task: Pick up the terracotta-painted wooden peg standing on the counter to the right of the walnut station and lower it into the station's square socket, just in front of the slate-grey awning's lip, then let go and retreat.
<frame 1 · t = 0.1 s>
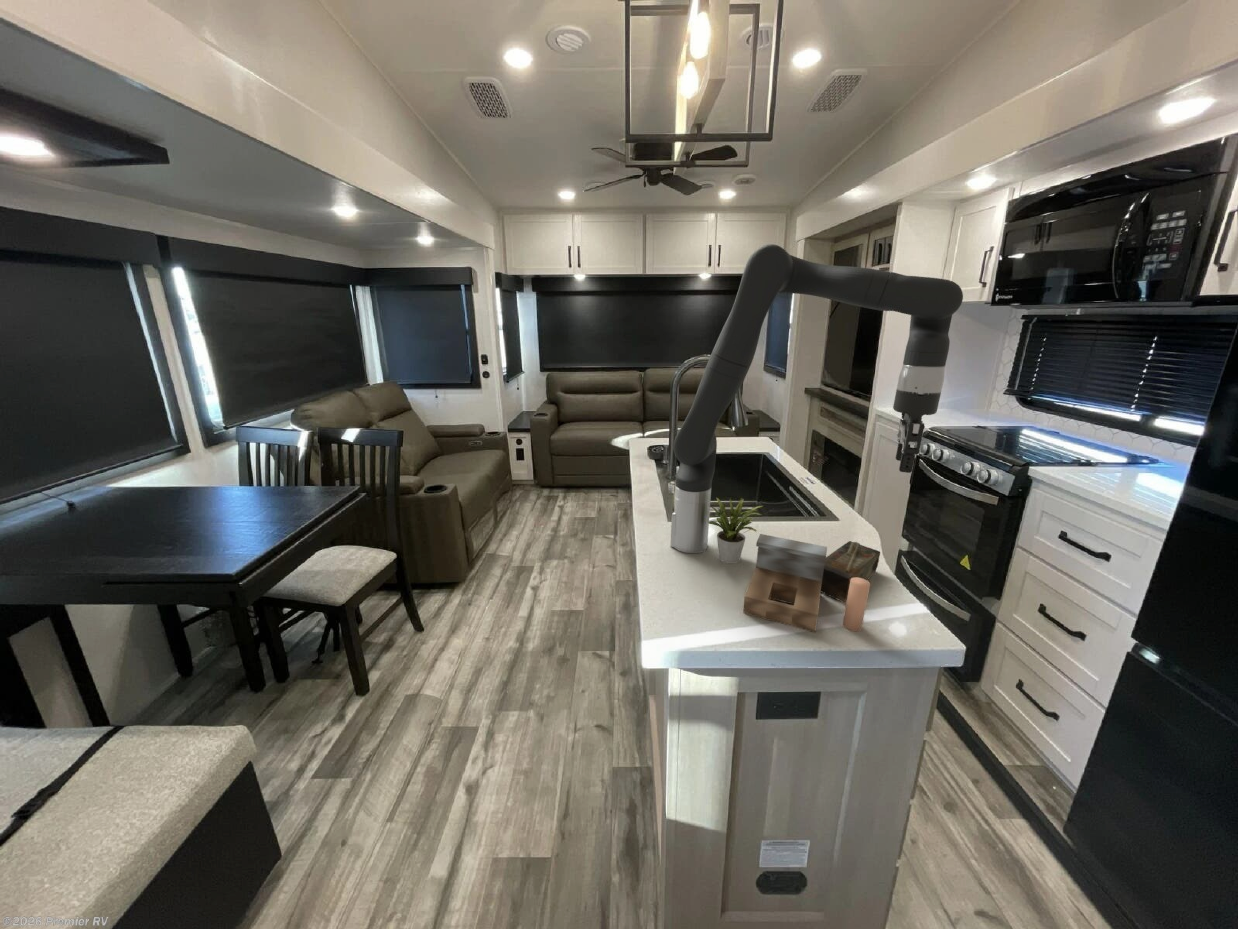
hand: (902, 466, 95), 29 cm above the countertop, fingers open, 8 cm apart
peg: (852, 625, 91), on the countertop
house plant: (731, 561, 115), on the countertop
socket station: (782, 603, 98), on the countertop
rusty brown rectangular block: (844, 581, 107), on the countertop
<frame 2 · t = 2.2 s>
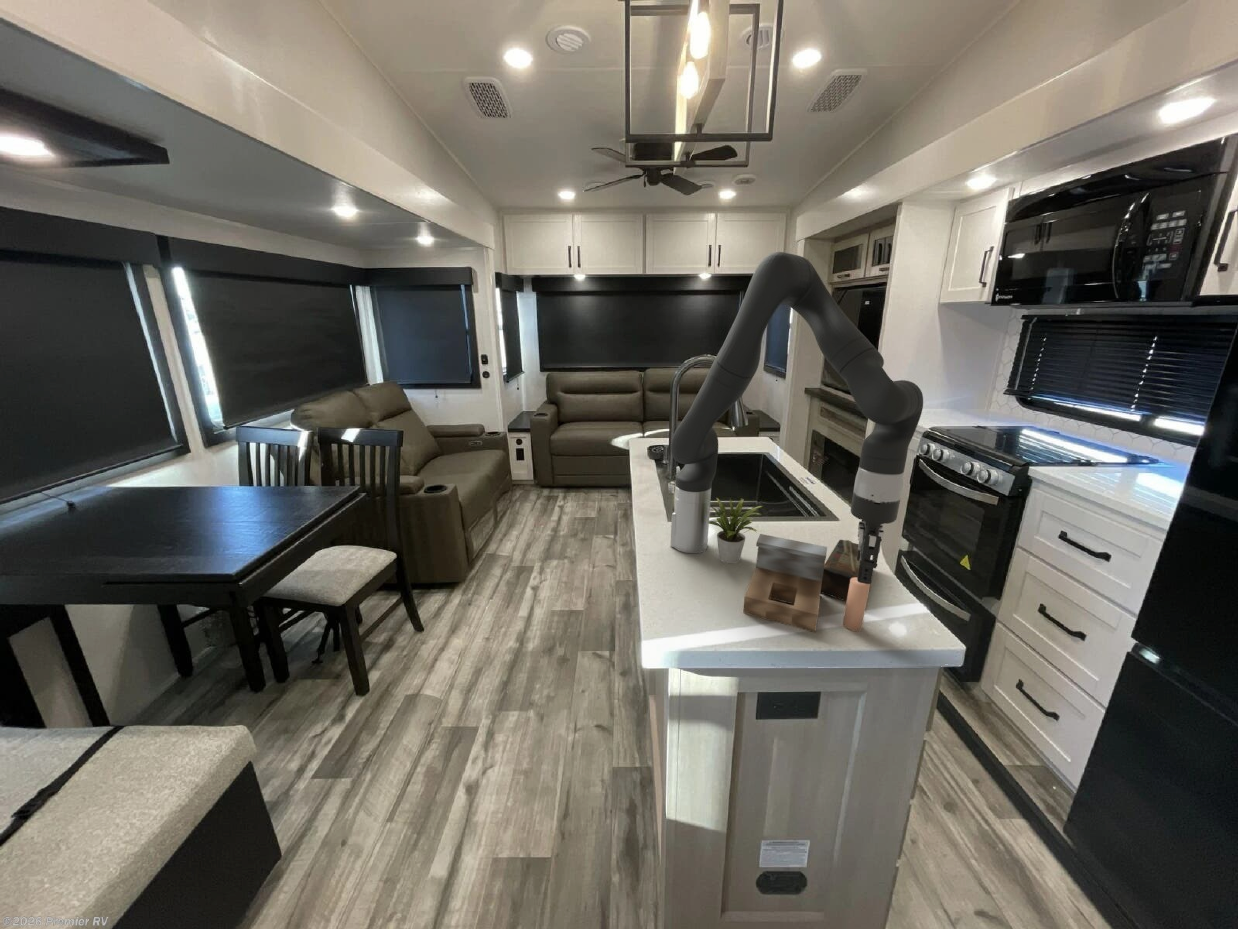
hand: (863, 571, 87), 12 cm above the countertop, fingers open, 8 cm apart
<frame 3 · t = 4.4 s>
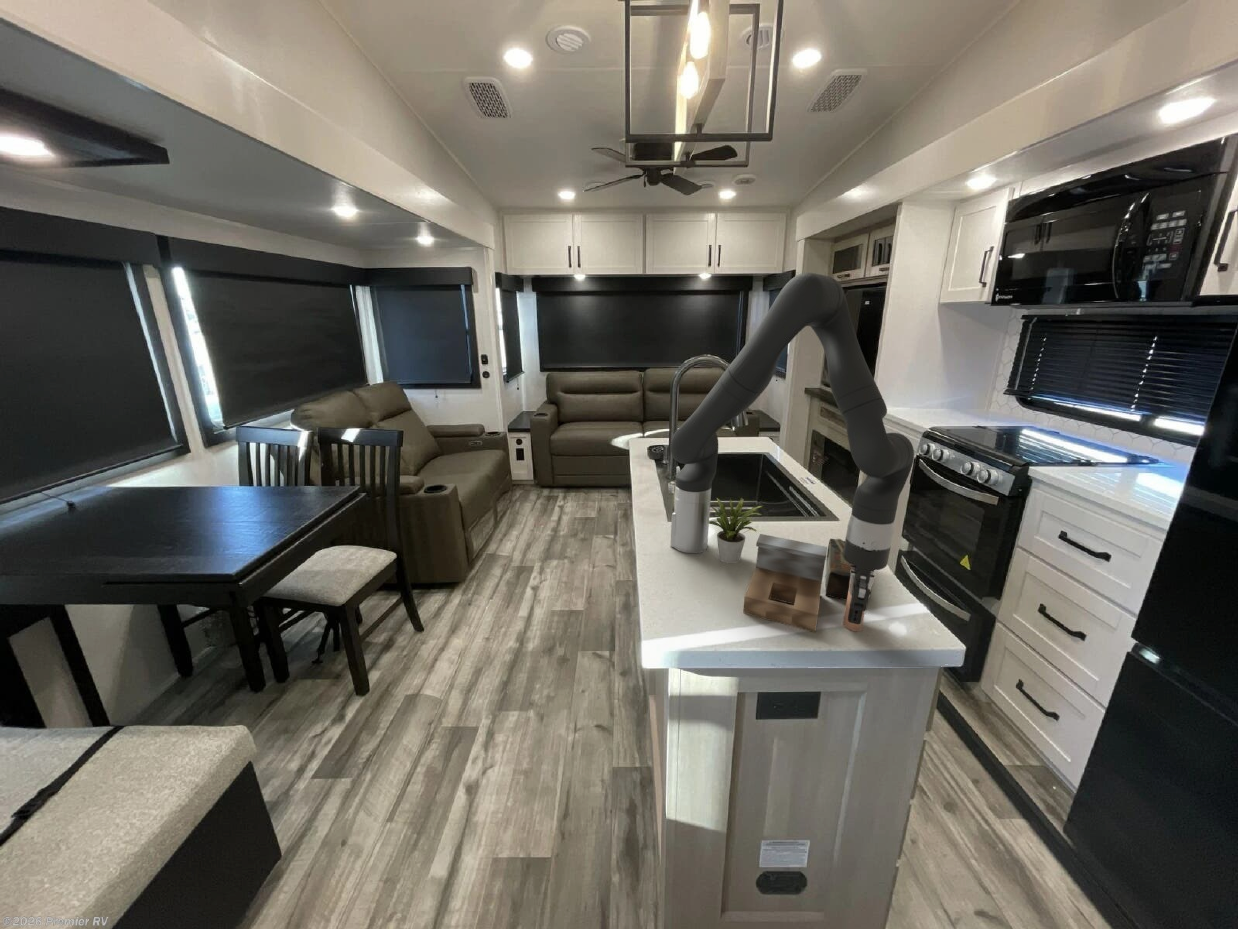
hand: (853, 616, 90), 2 cm above the countertop, fingers closed on peg, 3 cm apart
peg: (852, 625, 91), on the countertop, touching gripper
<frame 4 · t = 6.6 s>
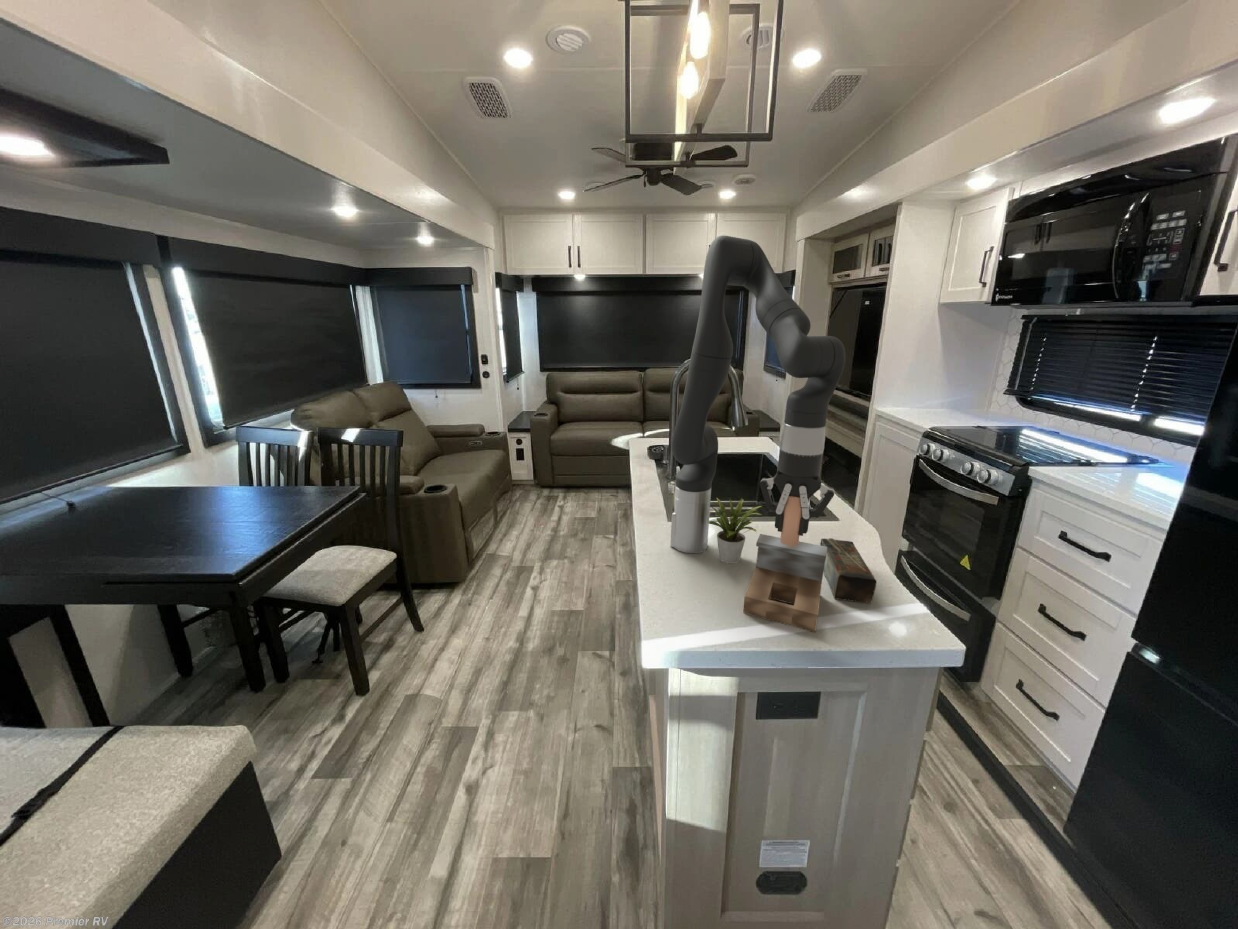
hand: (790, 531, 89), 19 cm above the countertop, fingers closed on peg, 3 cm apart
peg: (789, 541, 90), point 16 cm above the countertop, touching gripper
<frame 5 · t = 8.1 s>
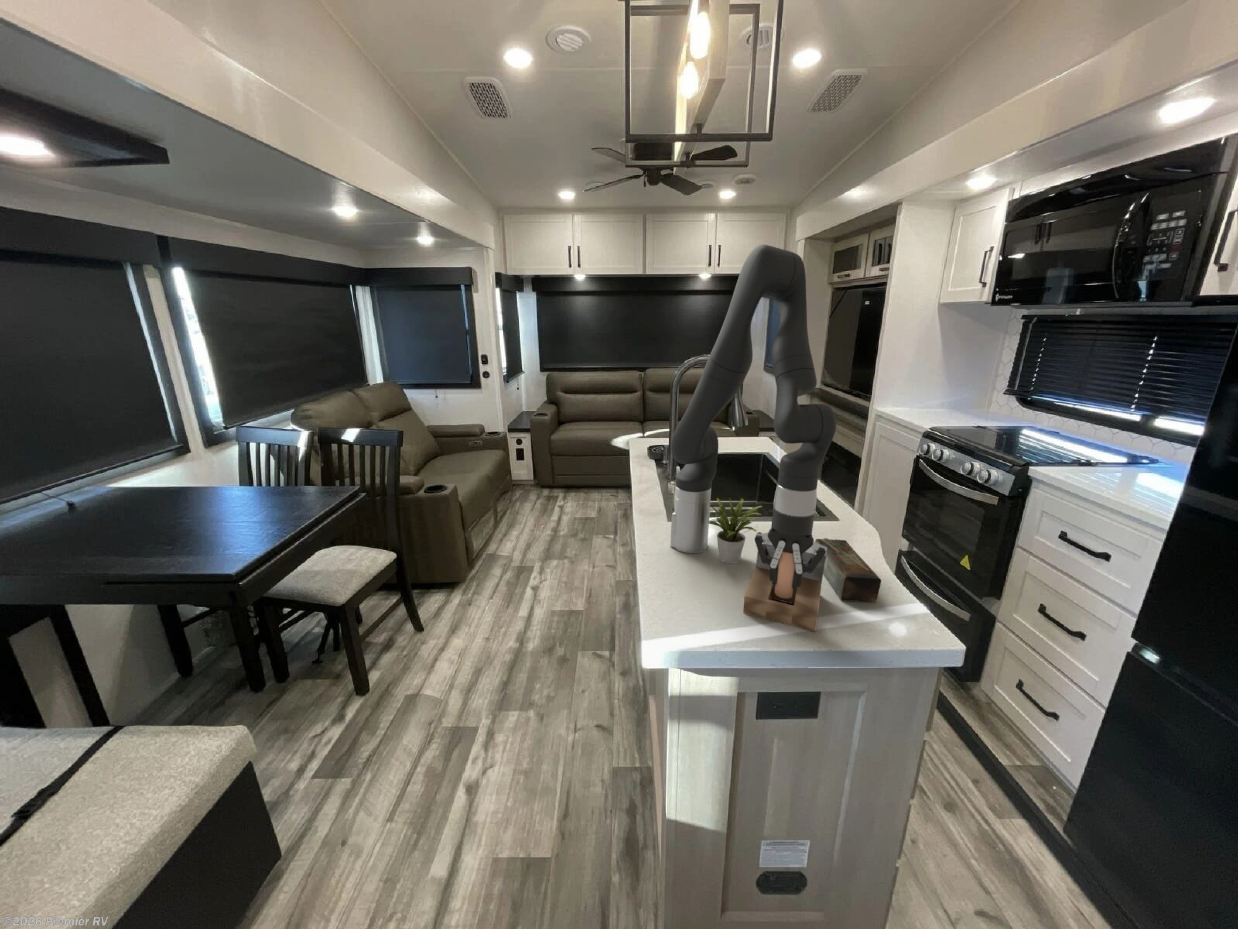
hand: (784, 584, 93), 7 cm above the countertop, fingers closed on peg, 3 cm apart
peg: (783, 593, 93), point 5 cm above the countertop, touching gripper
when the fingers open (5 cm above the countertop, at t = 9.2 s): peg drops 2 cm, resting in socket station.
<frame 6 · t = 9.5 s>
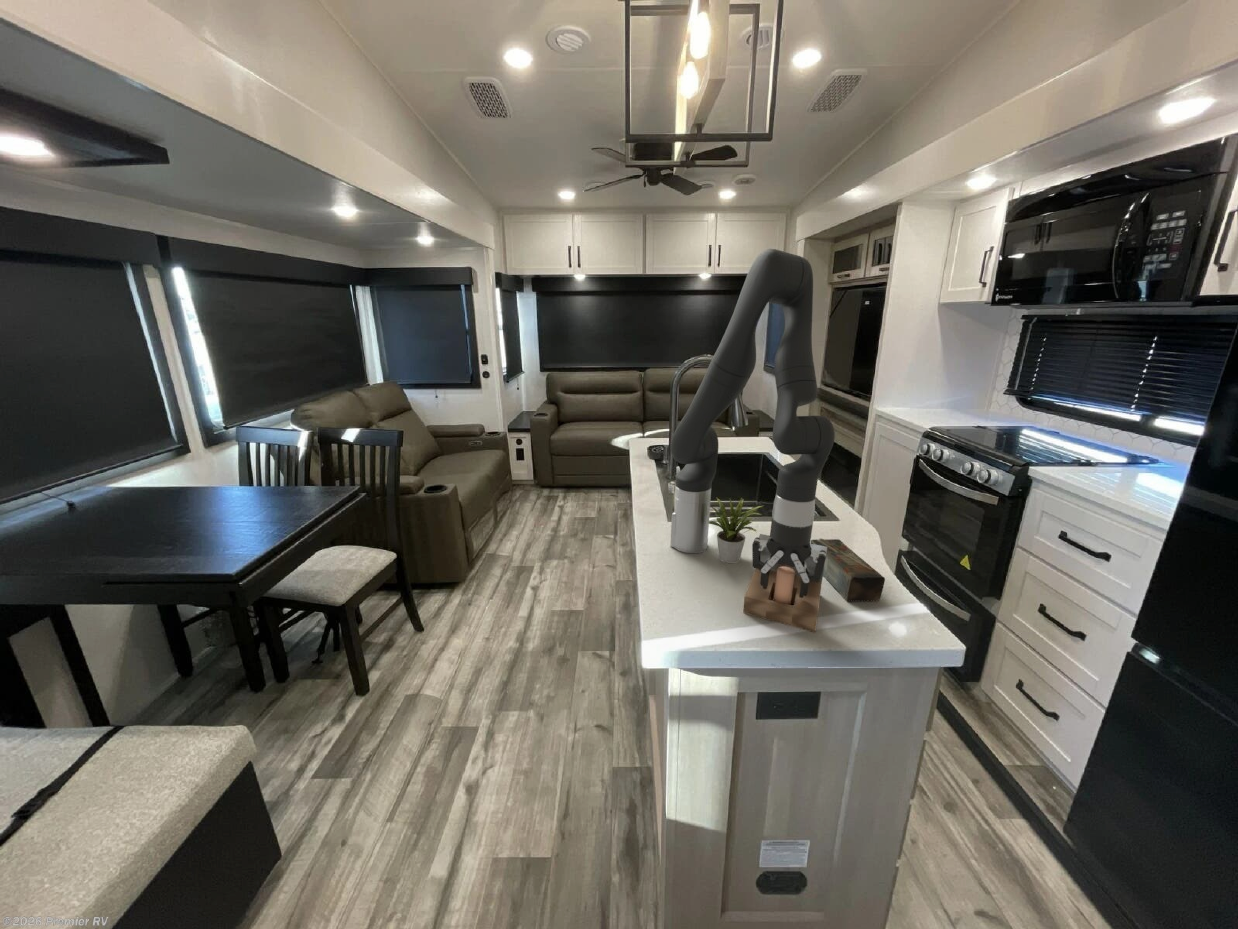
hand: (783, 591, 93), 5 cm above the countertop, fingers open, 6 cm apart
peg: (780, 612, 95), resting in socket station
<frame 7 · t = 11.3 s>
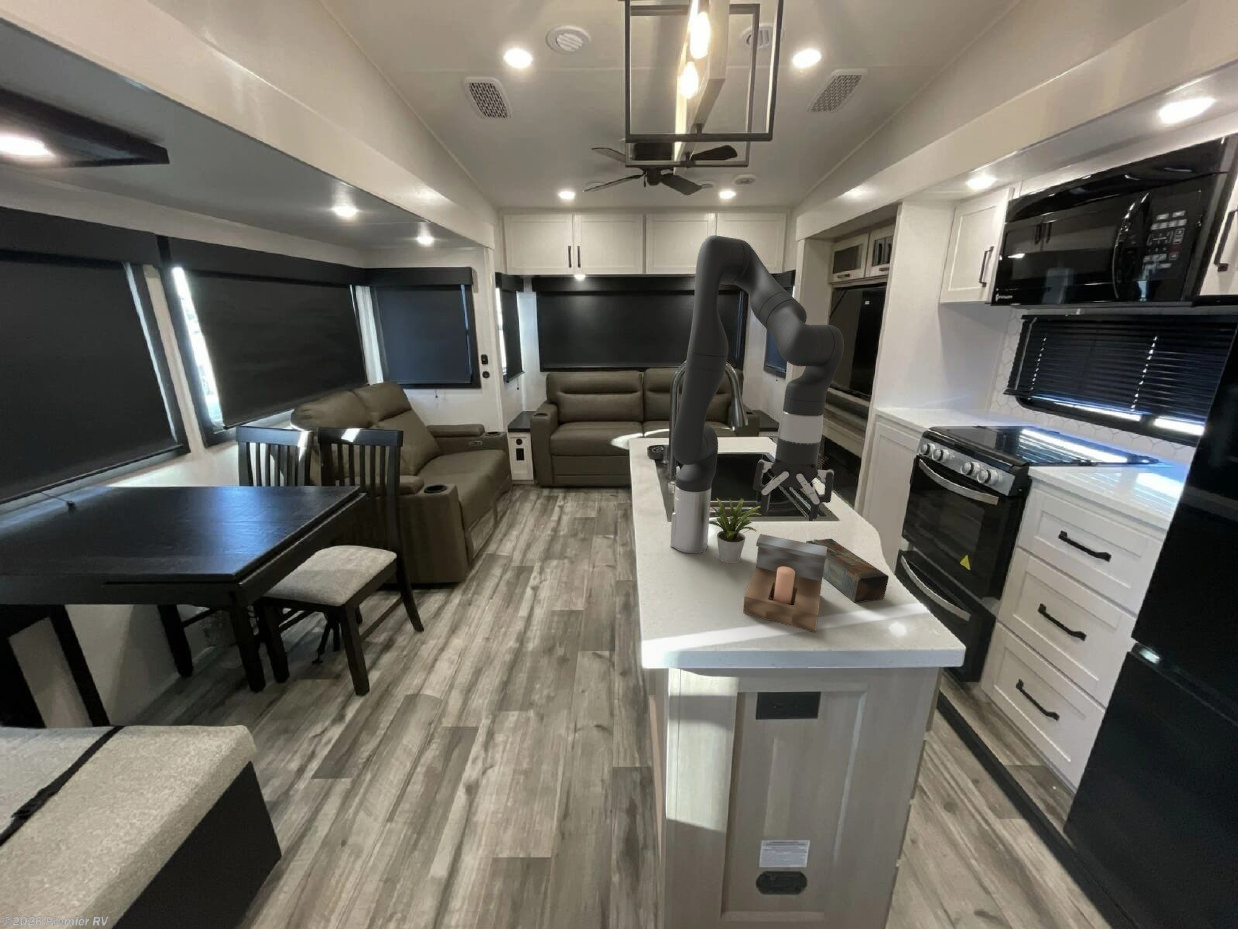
hand: (787, 515, 90), 21 cm above the countertop, fingers open, 8 cm apart
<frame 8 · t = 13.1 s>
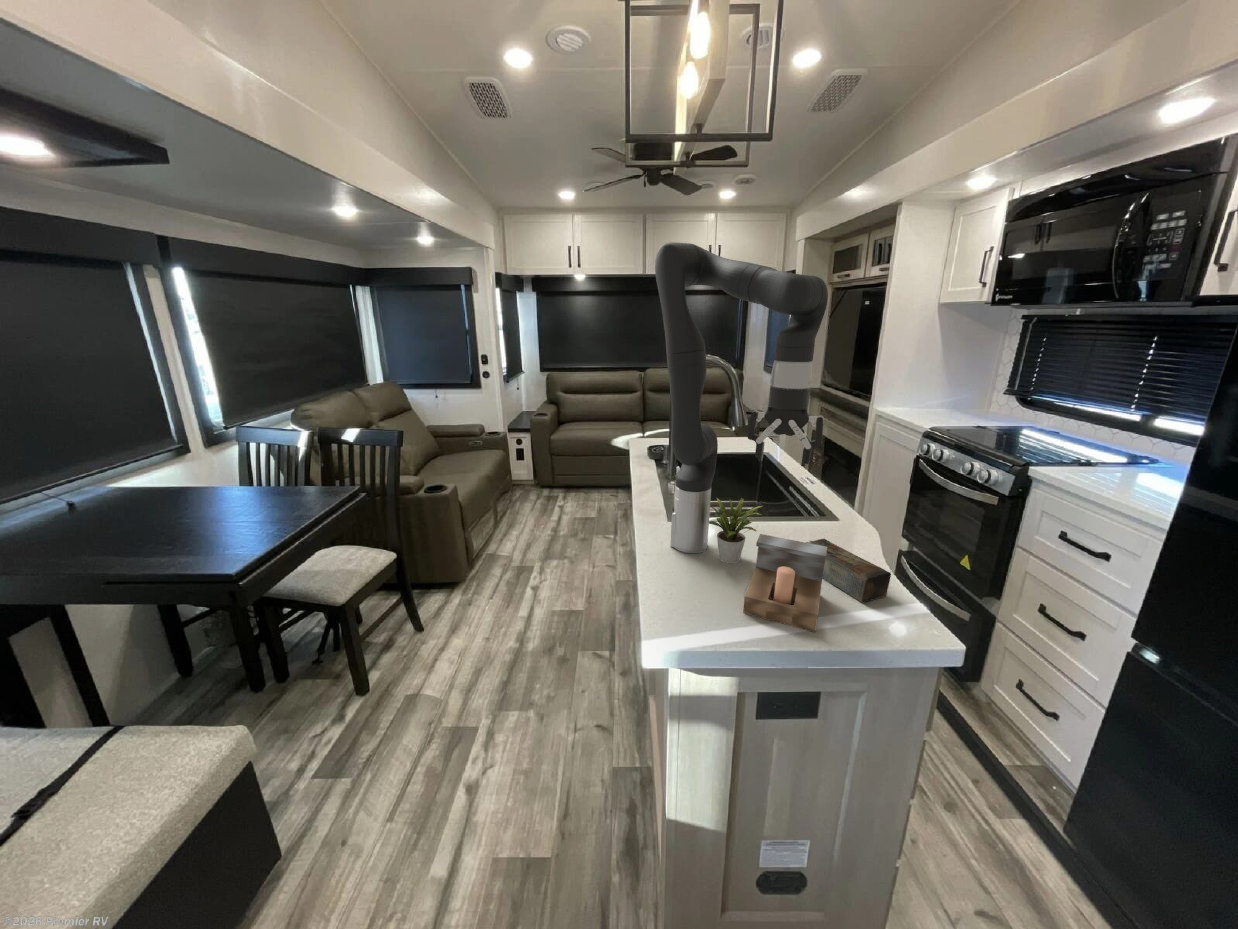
hand: (781, 462, 94), 30 cm above the countertop, fingers open, 8 cm apart
at the end: peg 0.1 cm from the target spot on the socket station, point 0.0 cm above the socket station's base; peg tilted 0°; the gripper is holding nothing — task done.
